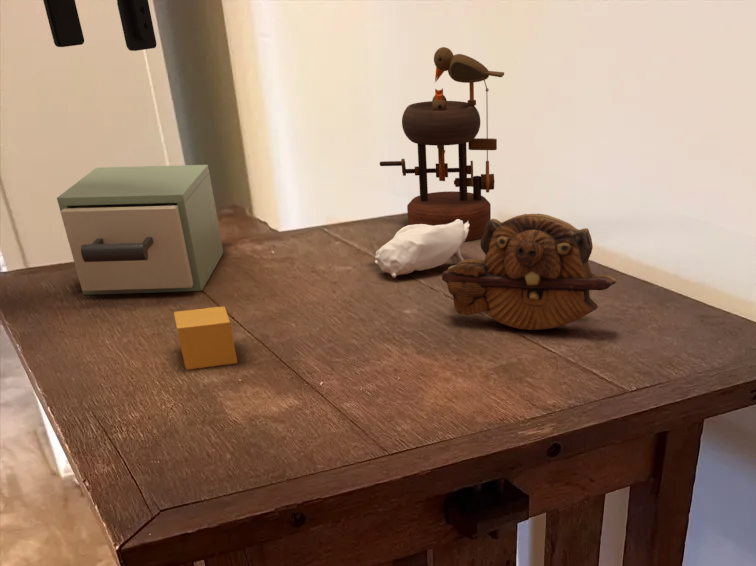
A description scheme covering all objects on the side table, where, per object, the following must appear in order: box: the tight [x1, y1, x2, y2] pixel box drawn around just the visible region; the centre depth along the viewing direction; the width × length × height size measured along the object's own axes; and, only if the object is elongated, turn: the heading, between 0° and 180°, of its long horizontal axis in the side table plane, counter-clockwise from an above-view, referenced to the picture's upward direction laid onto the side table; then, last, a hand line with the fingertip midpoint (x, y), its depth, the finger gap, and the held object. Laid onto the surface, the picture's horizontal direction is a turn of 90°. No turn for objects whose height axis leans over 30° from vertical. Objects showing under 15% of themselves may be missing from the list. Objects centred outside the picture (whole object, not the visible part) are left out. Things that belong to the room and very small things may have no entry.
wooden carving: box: [441, 213, 617, 331], centre depth 85 cm, size 16×5×10 cm, turn 77°
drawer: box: [60, 203, 193, 292], centre depth 97 cm, size 18×11×8 cm, turn 3°
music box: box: [379, 46, 505, 242], centre depth 110 cm, size 15×11×20 cm
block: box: [173, 306, 238, 371], centre depth 80 cm, size 4×4×4 cm
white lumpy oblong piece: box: [374, 219, 470, 279], centre depth 101 cm, size 5×7×10 cm
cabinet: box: [56, 164, 224, 296], centre depth 101 cm, size 15×13×10 cm
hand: (105, 47), depth 87 cm, fingers open, 9 cm apart
